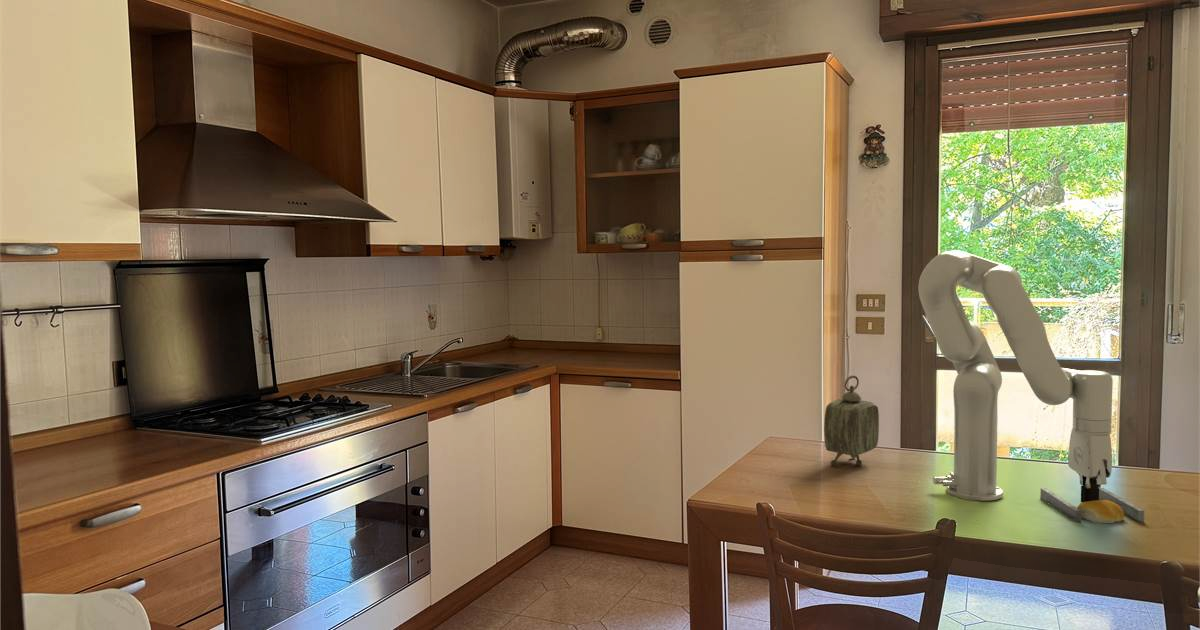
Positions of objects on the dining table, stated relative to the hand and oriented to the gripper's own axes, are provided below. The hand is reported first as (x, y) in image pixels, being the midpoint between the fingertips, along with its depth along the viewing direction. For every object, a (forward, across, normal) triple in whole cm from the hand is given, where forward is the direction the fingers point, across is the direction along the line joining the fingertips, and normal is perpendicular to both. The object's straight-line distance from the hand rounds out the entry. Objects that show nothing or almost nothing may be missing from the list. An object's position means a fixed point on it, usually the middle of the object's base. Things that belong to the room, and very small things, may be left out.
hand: (1089, 503), depth 184 cm
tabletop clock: (+1, -38, -44) cm, 58 cm away
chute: (+1, 0, 0) cm, 1 cm away
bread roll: (+2, +6, -1) cm, 6 cm away
